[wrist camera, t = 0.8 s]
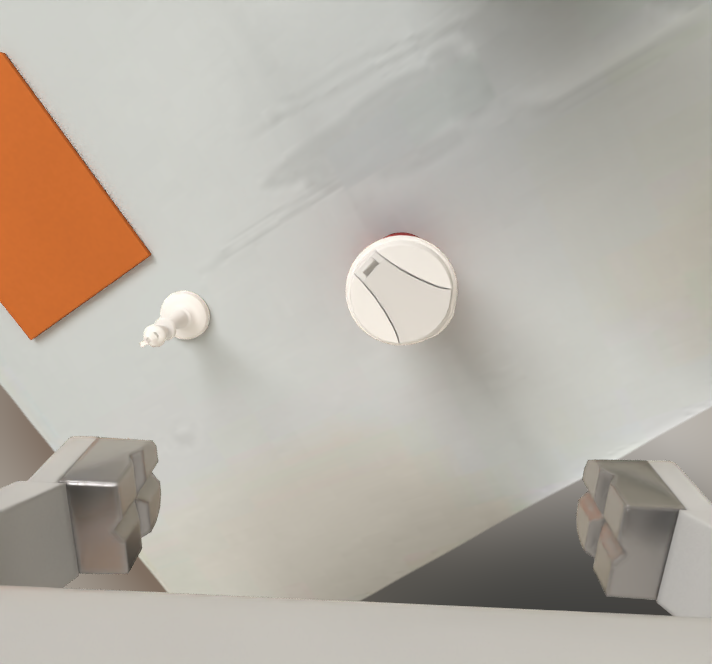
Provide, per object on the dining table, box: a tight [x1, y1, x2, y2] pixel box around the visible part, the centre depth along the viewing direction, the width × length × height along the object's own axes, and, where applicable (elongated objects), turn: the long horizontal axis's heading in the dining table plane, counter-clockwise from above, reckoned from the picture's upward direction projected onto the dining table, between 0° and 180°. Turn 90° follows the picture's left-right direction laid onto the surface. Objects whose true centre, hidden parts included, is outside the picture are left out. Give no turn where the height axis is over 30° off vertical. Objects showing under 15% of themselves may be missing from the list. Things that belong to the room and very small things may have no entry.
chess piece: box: [139, 291, 210, 347], centre depth 55 cm, size 5×5×10 cm
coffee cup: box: [346, 233, 458, 345], centre depth 50 cm, size 8×8×15 cm
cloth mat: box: [0, 52, 151, 340], centre depth 58 cm, size 22×16×1 cm
